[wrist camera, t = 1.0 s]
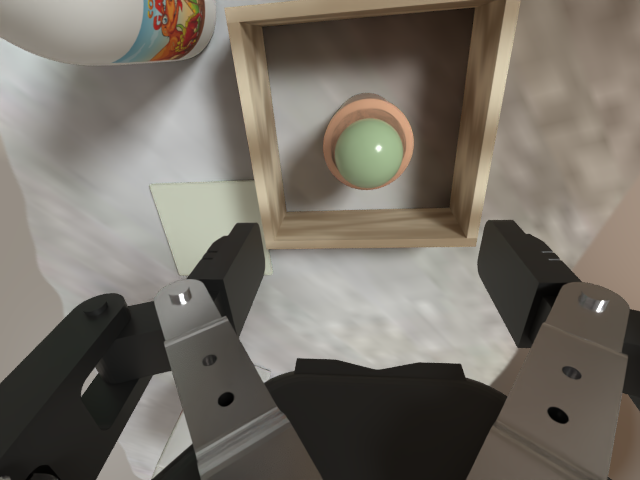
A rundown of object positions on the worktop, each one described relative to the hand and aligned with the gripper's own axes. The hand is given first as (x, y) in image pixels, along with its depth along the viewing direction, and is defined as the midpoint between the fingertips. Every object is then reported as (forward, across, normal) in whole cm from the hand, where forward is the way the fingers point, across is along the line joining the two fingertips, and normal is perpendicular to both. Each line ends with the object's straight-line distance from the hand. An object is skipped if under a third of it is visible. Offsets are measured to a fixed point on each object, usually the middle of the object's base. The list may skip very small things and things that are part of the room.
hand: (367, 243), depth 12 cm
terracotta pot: (+20, 0, 0) cm, 20 cm away
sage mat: (+20, +16, +10) cm, 27 cm away
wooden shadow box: (+20, 0, 0) cm, 20 cm away
